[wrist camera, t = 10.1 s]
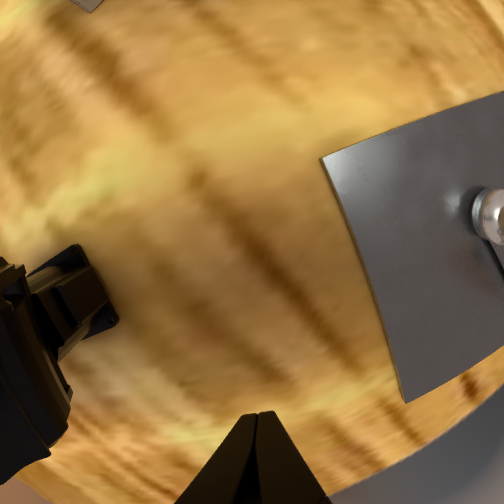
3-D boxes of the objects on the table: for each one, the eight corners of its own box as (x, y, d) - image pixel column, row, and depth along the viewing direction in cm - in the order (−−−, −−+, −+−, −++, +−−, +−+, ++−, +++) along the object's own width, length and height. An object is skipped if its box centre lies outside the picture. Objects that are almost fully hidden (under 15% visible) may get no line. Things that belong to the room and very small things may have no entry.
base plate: (401, 396, 22) (405, 403, 21) (319, 158, 18) (322, 158, 17) (547, 301, 20) (553, 304, 19) (509, 89, 16) (516, 87, 15)
